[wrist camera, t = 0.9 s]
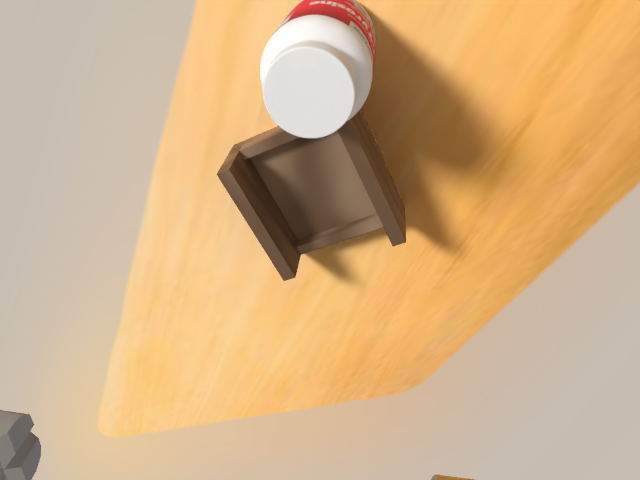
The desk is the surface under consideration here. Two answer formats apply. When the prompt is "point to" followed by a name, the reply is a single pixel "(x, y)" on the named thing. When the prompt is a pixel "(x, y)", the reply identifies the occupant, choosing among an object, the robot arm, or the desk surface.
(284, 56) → the pill bottle
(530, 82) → the desk surface
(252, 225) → the cradle
